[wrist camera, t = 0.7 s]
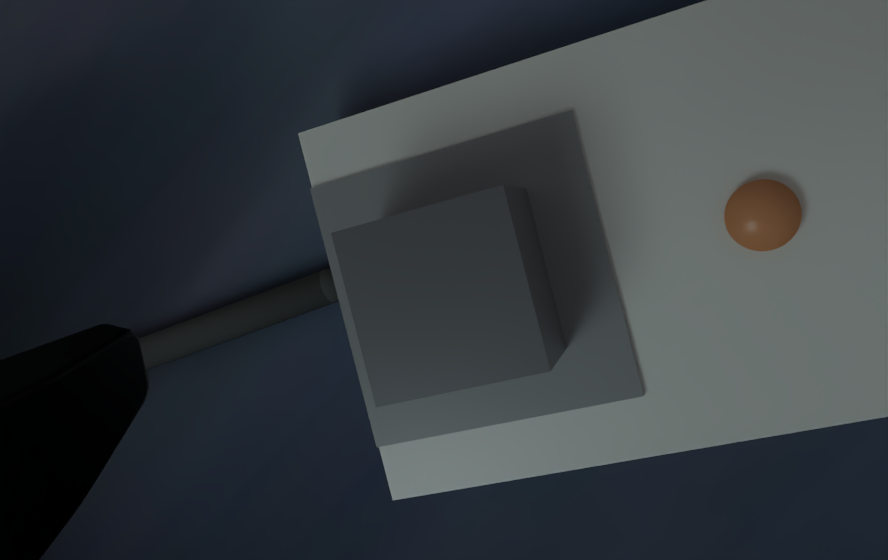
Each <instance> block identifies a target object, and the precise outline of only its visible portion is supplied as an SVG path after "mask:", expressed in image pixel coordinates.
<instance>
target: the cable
mask: <svg viewBox="0 0 888 560" xmlns="http://www.w3.org/2000/svg"><path fill="white" fill-rule="evenodd" d="M337 301H339V300H338V296H337V292H336V288H335V284H334V280H333V276H332V272H331V269H324V270H321V271H319V272H316V273H313V274H311V275H308V276H305V277H302V278H300V279H297V280H294V281H292V282H289V283H286V284H284V285H281V286H278V287H276V288H273V289H270V290H268V291H265V292H262V293H259V294H257V295H254V296H251V297H249V298H246V299H243V300H241V301H238V302H235V303H233V304H230V305H227V306H225V307H222V308H219V309H216V310H214V311H211V312H208V313H206V314H203V315H200V316H198V317H195V318H192V319H190V320H187V321H184V322H182V323H179V324H176V325H173V326H171V327H168V328H165V329H163V330H160V331H157V332H155V333H152V334H149V335H147V336H144V337H141V338H139V341H140V345H141V349H142V353H143V358H144V362H145V367H146V370H147V369H150V368H153V367H156V366H158V365H161V364H164V363H167V362H170V361H172V360H175V359H178V358H181V357H184V356H186V355H189V354H192V353H195V352H198V351H200V350H203V349H206V348H209V347H212V346H214V345H217V344H220V343H223V342H226V341H228V340H231V339H234V338H237V337H240V336H242V335H245V334H248V333H251V332H254V331H256V330H259V329H262V328H265V327H268V326H270V325H273V324H276V323H279V322H282V321H284V320H287V319H290V318H293V317H296V316H298V315H301V314H304V313H307V312H310V311H312V310H315V309H318V308H321V307H324V306H326V305H329V304H332V303H335V302H337Z"/></svg>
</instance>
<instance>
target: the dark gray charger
mask: <svg viewBox="0 0 888 560" xmlns="http://www.w3.org/2000/svg"><path fill="white" fill-rule="evenodd" d="M331 235H332V239H333V243H334V247H335V251H336V255H337V259H338V262H339V266H340V270H341V274H342V278H343V282H344V286H345V290H346V293H347V297H348V301H349V305H350V309H351V313H352V317H353V321H354V324H355V328H356V332H357V336H358V340H359V344H360V348H361V352H362V355H363V359H364V363H365V367H366V371H367V375H368V379H369V383H370V386H371V390H372V394H373V398H374V402H375V406H376V407H381V406H386V405H391V404H396V403H400V402H405V401H410V400H415V399H420V398H425V397H429V396H434V395H439V394H444V393H449V392H454V391H458V390H463V389H468V388H473V387H478V386H482V385H487V384H492V383H497V382H502V381H507V380H511V379H516V378H521V377H526V376H531V375H536V374H540V373H545V372H550V371H551V370H552V369H553V367H554V366H555V364H556V363H557V362H558V360H559V359H560V357H561V356H562V354H563V353H564V352H565V350H566V349H567V347H566V343H565V339H564V335H563V331H562V327H561V323H560V319H559V316H558V312H557V308H556V304H555V300H554V296H553V292H552V288H551V284H550V280H549V276H548V272H547V268H546V264H545V260H544V256H543V252H542V249H541V245H540V241H539V237H538V233H537V229H536V225H535V221H534V217H533V213H532V209H531V205H530V201H529V197H528V193H527V189H526V188H521V187H515V186H509V185H499V186H496V187H492V188H489V189H485V190H482V191H478V192H474V193H471V194H467V195H464V196H460V197H457V198H453V199H450V200H446V201H442V202H439V203H435V204H432V205H428V206H425V207H421V208H418V209H414V210H411V211H407V212H403V213H400V214H396V215H393V216H389V217H386V218H382V219H379V220H375V221H371V222H368V223H364V224H361V225H357V226H354V227H350V228H347V229H343V230H339V231H336V232H332V233H331Z"/></svg>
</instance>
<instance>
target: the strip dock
mask: <svg viewBox="0 0 888 560" xmlns="http://www.w3.org/2000/svg"><path fill="white" fill-rule="evenodd" d="M298 135H299V139H300V143H301V147H302V151H303V155H304V159H305V162H306V166H307V170H308V174H309V178H310V182H311V186H312V188H310V191H311V195H312V199H313V203H314V207H315V211H316V214H317V218H318V222H319V226H320V230H321V234H322V238H323V242H324V245H325V249H326V253H327V257H328V261H329V265H330V269H331V272H332V276H333V280H334V284H335V288H336V292H337V296H338V300H339V303H340V307H341V311H342V315H343V319H344V323H345V327H346V331H347V334H348V338H349V342H350V346H351V350H352V354H353V358H354V362H355V365H356V369H357V373H358V377H359V381H360V385H361V389H362V393H363V396H364V400H365V404H366V408H367V412H368V416H369V420H370V423H371V427H372V431H373V435H374V439H375V443H376V447H379V449H380V453H381V457H382V461H383V464H384V468H385V472H386V476H387V480H388V484H389V488H390V492H391V495H392V499H393V500H398V499H404V498H410V497H416V496H422V495H428V494H434V493H440V492H446V491H452V490H458V489H463V488H469V487H475V486H481V485H487V484H493V483H499V482H505V481H511V480H517V479H522V478H528V477H534V476H540V475H546V474H552V473H558V472H564V471H570V470H576V469H582V468H587V467H593V466H599V465H605V464H611V463H617V462H623V461H629V460H635V459H641V458H646V457H652V456H658V455H664V454H670V453H676V452H682V451H688V450H694V449H700V448H705V447H711V446H717V445H723V444H729V443H735V442H741V441H747V440H753V439H759V438H765V437H770V436H776V435H782V434H788V433H794V432H800V431H806V430H812V429H818V428H824V427H829V426H835V425H841V424H847V423H853V422H859V421H865V420H871V419H877V418H883V417H888V0H706V1H703V2H700V3H697V4H693V5H690V6H687V7H684V8H681V9H678V10H675V11H672V12H669V13H666V14H663V15H660V16H657V17H654V18H651V19H647V20H644V21H641V22H638V23H635V24H632V25H629V26H626V27H623V28H620V29H617V30H614V31H611V32H608V33H605V34H601V35H598V36H595V37H592V38H589V39H586V40H583V41H580V42H577V43H574V44H571V45H568V46H565V47H562V48H558V49H555V50H552V51H549V52H546V53H543V54H540V55H537V56H534V57H531V58H528V59H525V60H522V61H519V62H516V63H512V64H509V65H506V66H503V67H500V68H497V69H494V70H491V71H488V72H485V73H482V74H479V75H476V76H473V77H470V78H466V79H463V80H460V81H457V82H454V83H451V84H448V85H445V86H442V87H439V88H436V89H433V90H430V91H427V92H423V93H420V94H417V95H414V96H411V97H408V98H405V99H402V100H399V101H396V102H393V103H390V104H387V105H384V106H381V107H377V108H374V109H371V110H368V111H365V112H362V113H359V114H356V115H353V116H350V117H347V118H344V119H341V120H338V121H335V122H331V123H328V124H325V125H322V126H319V127H316V128H313V129H310V130H307V131H304V132H301V133H298ZM499 185H509V186H515V187H521V188H526V189H527V193H528V197H529V201H530V205H531V209H532V213H533V217H534V221H535V225H536V229H537V233H538V237H539V241H540V245H541V249H542V252H543V256H544V260H545V264H546V268H547V272H548V276H549V280H550V284H551V288H552V292H553V296H554V300H555V304H556V308H557V312H558V316H559V319H560V323H561V327H562V331H563V335H564V339H565V343H566V347H567V349H566V350H565V352H564V353H563V354H562V356H561V357H560V359H559V360H558V362H557V363H556V364H555V366H554V367H553V369H552V370H551V371H550V372H545V373H540V374H536V375H531V376H526V377H521V378H516V379H511V380H507V381H502V382H497V383H492V384H487V385H482V386H478V387H473V388H468V389H463V390H458V391H454V392H449V393H444V394H439V395H434V396H429V397H425V398H420V399H415V400H410V401H405V402H400V403H396V404H391V405H386V406H381V407H376V406H375V402H374V398H373V394H372V390H371V386H370V383H369V379H368V375H367V371H366V367H365V363H364V359H363V355H362V352H361V348H360V344H359V340H358V336H357V332H356V328H355V324H354V321H353V317H352V313H351V309H350V305H349V301H348V297H347V293H346V290H345V286H344V282H343V278H342V274H341V270H340V266H339V262H338V259H337V255H336V251H335V247H334V243H333V239H332V235H331V233H332V232H336V231H339V230H343V229H347V228H350V227H354V226H357V225H361V224H364V223H368V222H371V221H375V220H379V219H382V218H386V217H389V216H393V215H396V214H400V213H403V212H407V211H411V210H414V209H418V208H421V207H425V206H428V205H432V204H435V203H439V202H442V201H446V200H450V199H453V198H457V197H460V196H464V195H467V194H471V193H474V192H478V191H482V190H485V189H489V188H492V187H496V186H499Z"/></svg>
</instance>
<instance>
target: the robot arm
mask: <svg viewBox="0 0 888 560" xmlns="http://www.w3.org/2000/svg"><path fill="white" fill-rule="evenodd" d="M148 388H149V380H148V375H147V371H146V367H145V362H144V358H143V353H142V349H141V345H140V341H139V338H138V336H137V335H136V334H135V332H133V331H131V330H129V329H125V328H121V327H117V326H113V325H109V324H101V325H97V326H94V327H92V328H89V329H86V330H83V331H81V332H78V333H75V334H72V335H69V336H67V337H64V338H61V339H58V340H55V341H53V342H50V343H47V344H44V345H42V346H39V347H36V348H33V349H30V350H28V351H25V352H22V353H19V354H16V355H14V356H11V357H8V358H5V359H2V360H0V560H39V559H40V558H41V557H42V555H43V554H44V553H45V551H46V550H47V549H48V547H49V546H50V545H51V543H52V542H53V541H54V539H55V538H56V537H57V536H58V534H59V533H60V532H61V530H62V529H63V528H64V526H65V525H66V524H67V522H68V521H69V520H70V518H71V517H72V515H73V514H74V513H75V511H76V510H77V509H78V507H79V506H80V504H81V503H82V501H83V500H84V498H85V497H86V495H87V494H88V492H89V491H90V489H91V488H92V486H93V484H94V483H95V481H96V480H97V478H98V476H99V475H100V473H101V471H102V470H103V468H104V467H105V465H106V463H107V462H108V460H109V458H110V457H111V455H112V453H113V452H114V450H115V449H116V447H117V445H118V444H119V442H120V440H121V439H122V437H123V436H124V434H125V432H126V431H127V429H128V427H129V426H130V424H131V422H132V421H133V419H134V418H135V416H136V414H137V413H138V411H139V409H140V408H141V406H142V405H143V403H144V401H145V399H146V396H147V393H148Z"/></svg>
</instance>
